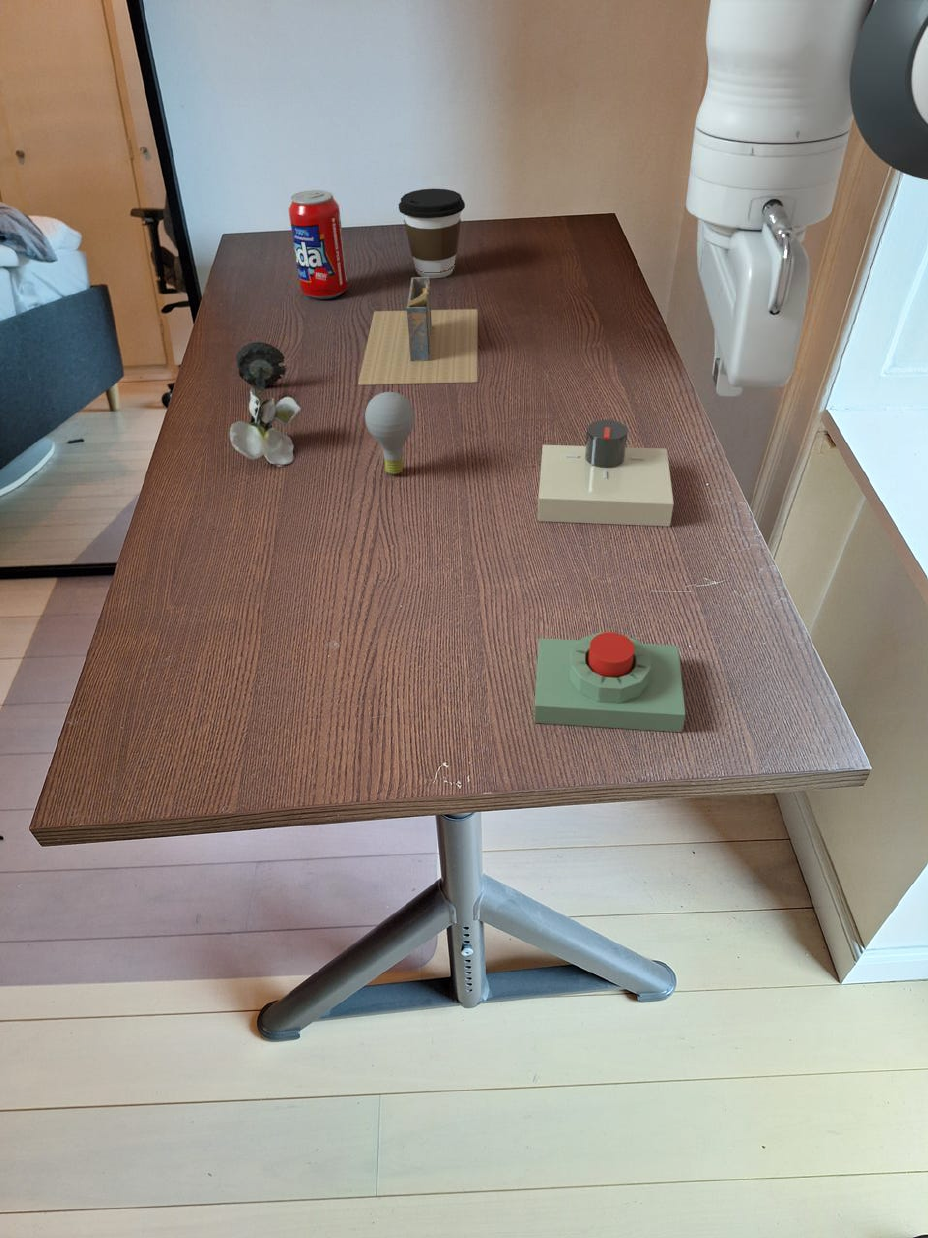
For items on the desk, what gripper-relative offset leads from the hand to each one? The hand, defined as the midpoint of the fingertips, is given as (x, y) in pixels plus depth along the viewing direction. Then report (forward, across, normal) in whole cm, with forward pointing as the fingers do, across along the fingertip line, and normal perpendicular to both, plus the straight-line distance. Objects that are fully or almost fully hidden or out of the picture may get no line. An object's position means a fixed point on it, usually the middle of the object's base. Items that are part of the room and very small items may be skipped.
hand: (726, 387), depth 61 cm
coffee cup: (+24, +89, +34) cm, 99 cm away
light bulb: (+24, +25, +31) cm, 47 cm away
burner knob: (+21, +25, +7) cm, 33 cm away
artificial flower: (+24, +36, +49) cm, 65 cm away
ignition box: (+24, -8, +7) cm, 26 cm away
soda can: (+24, +80, +51) cm, 98 cm away
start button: (+21, -8, +7) cm, 23 cm away
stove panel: (+24, +22, +7) cm, 33 cm away
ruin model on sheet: (+24, +60, +33) cm, 73 cm away
